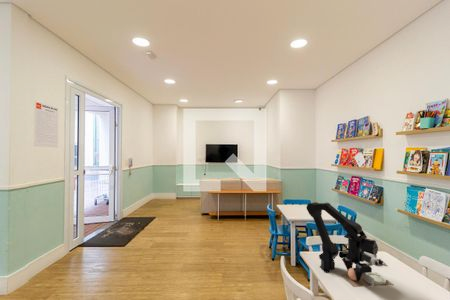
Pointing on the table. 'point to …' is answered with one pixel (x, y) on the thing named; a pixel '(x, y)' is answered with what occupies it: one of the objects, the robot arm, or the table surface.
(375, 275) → the ring
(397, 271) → the table surface
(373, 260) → the robot toy
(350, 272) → the rubber ball
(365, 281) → the fence board
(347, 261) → the robot arm
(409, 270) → the table surface
